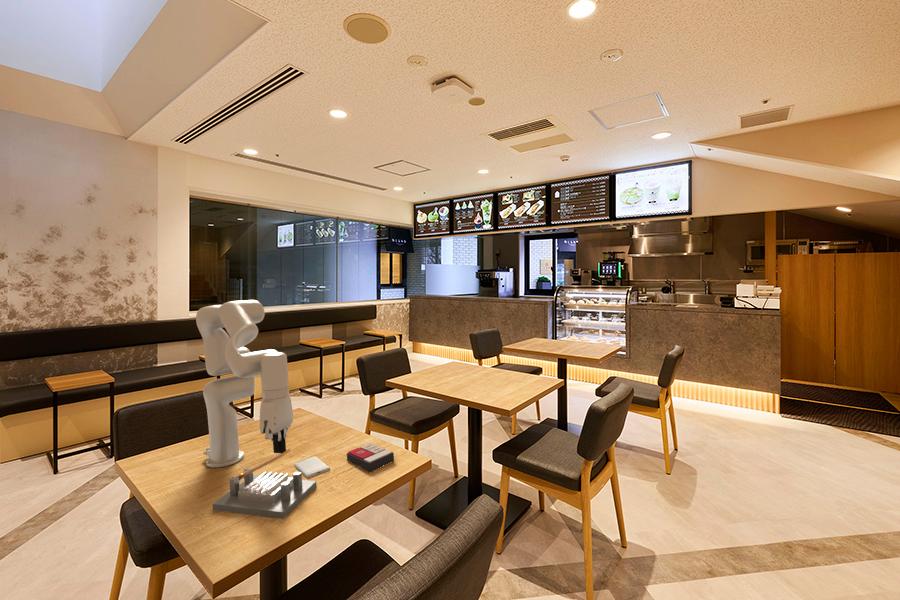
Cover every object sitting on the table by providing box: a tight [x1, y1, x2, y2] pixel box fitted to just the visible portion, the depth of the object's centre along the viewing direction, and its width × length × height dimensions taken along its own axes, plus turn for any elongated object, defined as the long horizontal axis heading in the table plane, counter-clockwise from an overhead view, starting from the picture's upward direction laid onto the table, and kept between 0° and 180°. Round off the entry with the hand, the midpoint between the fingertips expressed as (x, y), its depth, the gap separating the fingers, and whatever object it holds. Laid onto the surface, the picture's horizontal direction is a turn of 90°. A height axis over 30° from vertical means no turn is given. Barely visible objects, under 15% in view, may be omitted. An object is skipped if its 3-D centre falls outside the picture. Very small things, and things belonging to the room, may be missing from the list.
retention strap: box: [235, 448, 291, 481], centre depth 120 cm, size 20×4×2 cm, turn 75°
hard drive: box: [293, 455, 331, 479], centre depth 139 cm, size 2×8×12 cm
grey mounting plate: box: [212, 474, 318, 520], centre depth 120 cm, size 24×17×2 cm
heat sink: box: [228, 466, 303, 503], centre depth 120 cm, size 20×10×5 cm, turn 77°
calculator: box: [346, 442, 395, 473], centre depth 143 cm, size 11×4×15 cm
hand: (279, 451), depth 118 cm, fingers closed
